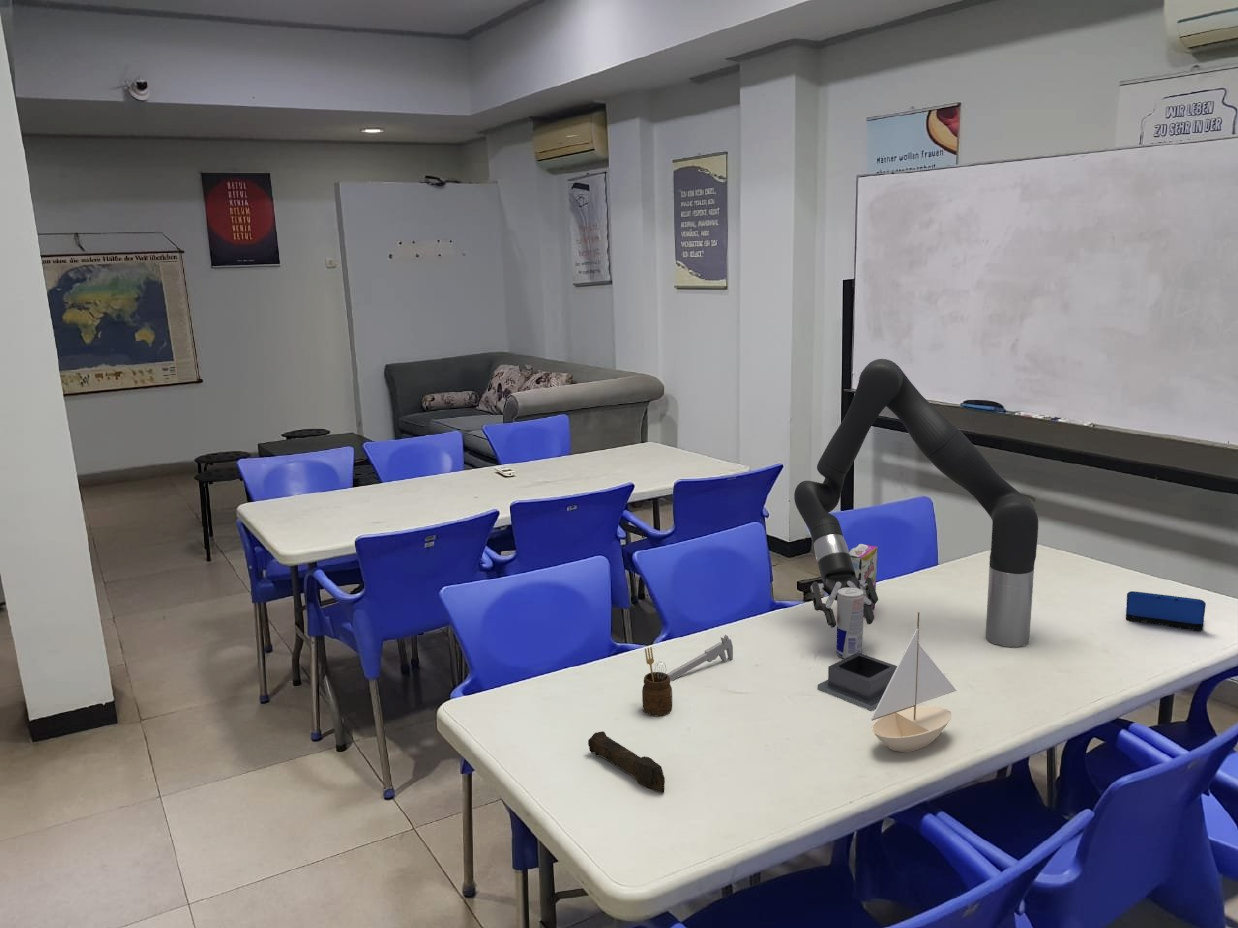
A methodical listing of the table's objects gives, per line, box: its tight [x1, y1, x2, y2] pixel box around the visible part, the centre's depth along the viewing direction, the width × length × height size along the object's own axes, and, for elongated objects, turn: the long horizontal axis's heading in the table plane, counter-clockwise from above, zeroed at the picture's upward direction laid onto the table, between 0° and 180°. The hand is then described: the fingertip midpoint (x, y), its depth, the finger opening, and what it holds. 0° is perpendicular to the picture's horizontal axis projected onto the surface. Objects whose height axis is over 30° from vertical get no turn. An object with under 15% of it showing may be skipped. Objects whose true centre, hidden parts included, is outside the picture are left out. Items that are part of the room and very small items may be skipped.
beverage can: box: [835, 588, 864, 659], centre depth 204 cm, size 6×6×15 cm
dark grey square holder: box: [817, 652, 898, 712], centre depth 189 cm, size 13×13×5 cm
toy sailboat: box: [870, 611, 957, 753], centre depth 166 cm, size 21×25×9 cm
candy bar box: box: [849, 543, 879, 618], centre depth 228 cm, size 11×5×16 cm, turn 144°
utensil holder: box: [641, 646, 673, 717], centre depth 183 cm, size 6×6×12 cm
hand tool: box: [587, 730, 666, 794], centre depth 161 cm, size 19×4×5 cm, turn 36°
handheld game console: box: [1125, 591, 1207, 632], centre depth 217 cm, size 16×13×9 cm
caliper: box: [666, 634, 734, 682], centre depth 200 cm, size 20×1×6 cm, turn 125°
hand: (852, 624), depth 203 cm, fingers open, 8 cm apart
